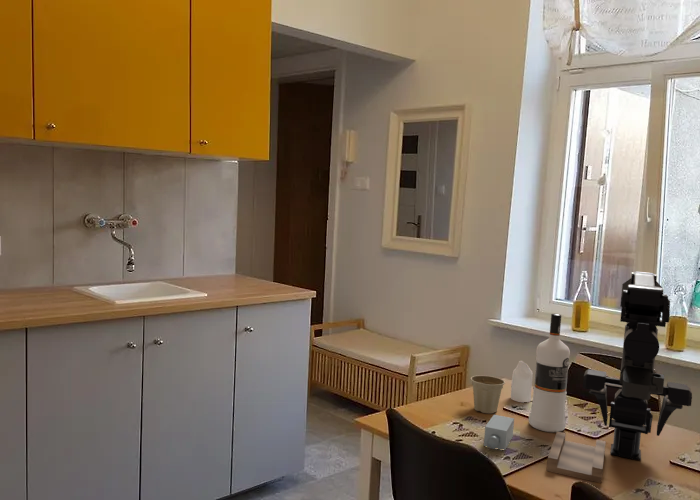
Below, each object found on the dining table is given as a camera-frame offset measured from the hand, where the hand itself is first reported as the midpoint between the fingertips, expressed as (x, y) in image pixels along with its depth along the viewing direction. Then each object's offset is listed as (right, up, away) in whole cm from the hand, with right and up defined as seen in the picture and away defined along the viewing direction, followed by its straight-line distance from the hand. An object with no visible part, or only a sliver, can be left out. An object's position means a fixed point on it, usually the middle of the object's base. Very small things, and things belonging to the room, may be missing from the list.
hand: (631, 430), depth 119 cm
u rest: (-3, -13, +20) cm, 24 cm away
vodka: (-3, -12, +42) cm, 44 cm away
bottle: (-19, -12, +28) cm, 36 cm away
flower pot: (-17, -10, +53) cm, 56 cm away
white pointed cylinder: (-4, -10, +64) cm, 65 cm away
